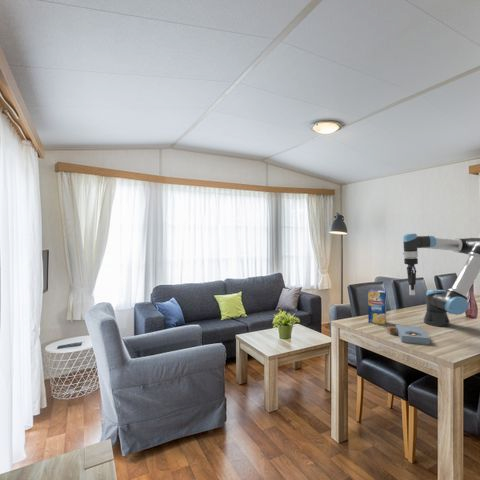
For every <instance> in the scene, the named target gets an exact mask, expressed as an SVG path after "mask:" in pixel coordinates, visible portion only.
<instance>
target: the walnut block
mask: <svg viewBox="0 0 480 480" xmlns="http://www.w3.org/2000/svg"><path fill="white" fill-rule="evenodd" d="M386 329H387V330H386V332H387V333H388V334H389V335H392V336H393V335H394V336H395V335H397V336H398V334H397V328H396V327H395V326H393V325H391V326H387V327H386Z"/></svg>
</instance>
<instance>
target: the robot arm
mask: <svg viewBox="0 0 480 480" xmlns="http://www.w3.org/2000/svg"><path fill="white" fill-rule="evenodd" d="M402 239H403V240H402V242H403V252H402V255H403V258H404V259H403V260H404V262H403V263H404V264H405V265H407V267H406V273H407V283H408V285H409V286H408V287H409V296H415V295H416V290H415V289H416V283H417V270H416V266H415V265H418V263H419V259H418V256H419V255H418V254H419V253H418V252H419V251H418V249H429V250H430V249H432V250H441V251H452V252H454V253H460V254H465V255H468V258H467V260H466V262H465V264H463V267H462V268H461V271H460V272H459V274H458V275H457V278H456V279H455V281H454V283H453V285H452V286H451V288H447V290H445V289H427V290H426V296H425V297H426V305H425V306H426V311H425V314H424V317H423V323H425V324H426V325H429V326H432V327H433V326H434V327H449V326H450V325H451V321H450V319H449V316H448V314H451V315H456V316H457V315H462V314H464V313H465V312H466V311H467V310H468V308H469V302H468V299H469V298H468V295H467V294H468V293H469V291H470V289H471V287H472V286H473V284H474V282H475V280H476V279H477V277H478V275H479V273H480V237H468V238H467V237H465V238H459V237H458V238H454V239H452V238H450V239H449V238H439V237H436V236H434V235H417V233H404V234H403V237H402Z"/></svg>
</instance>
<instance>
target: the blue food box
mask: <svg viewBox="0 0 480 480" xmlns="http://www.w3.org/2000/svg"><path fill="white" fill-rule="evenodd" d="M367 296H368V297H367V303H368V305H367V307H368V310H367V313H368V317H367V318H368V319H367V321H368V323H370V324H378V323H379V324H380V325H386V323H387V290H383V289H380V290H379V289H368V291H367Z"/></svg>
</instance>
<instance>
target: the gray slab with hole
mask: <svg viewBox="0 0 480 480" xmlns="http://www.w3.org/2000/svg"><path fill="white" fill-rule="evenodd" d="M394 327H396V328H397V336H398V338H399V339H400V342H401V343H410V344H419V345H431V337H430V336H429V335H428V334H427V333H426V332H425V330H424V329H423V328H422V327H421V326H417V325H415V326H414V325H404V324H403V325H399V324H395V326H394ZM412 334H416V335H412Z"/></svg>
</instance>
